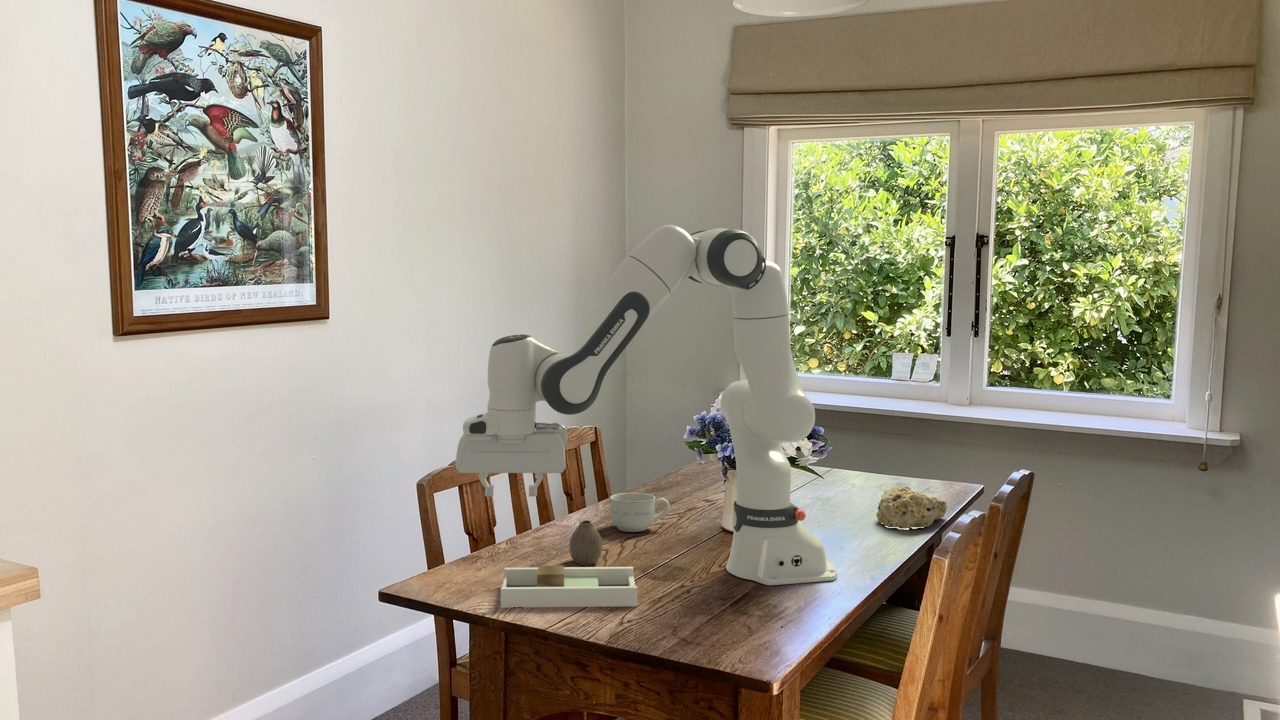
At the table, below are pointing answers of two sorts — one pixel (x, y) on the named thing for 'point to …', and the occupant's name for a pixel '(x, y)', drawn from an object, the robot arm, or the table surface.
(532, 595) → the box
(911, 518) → the rock
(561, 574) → the walnut block
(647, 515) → the teacup
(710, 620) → the table surface
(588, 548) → the vase
